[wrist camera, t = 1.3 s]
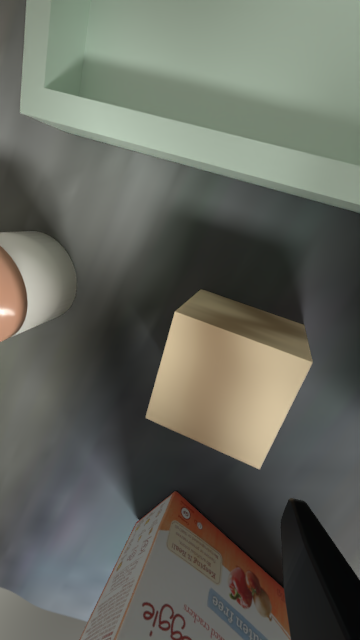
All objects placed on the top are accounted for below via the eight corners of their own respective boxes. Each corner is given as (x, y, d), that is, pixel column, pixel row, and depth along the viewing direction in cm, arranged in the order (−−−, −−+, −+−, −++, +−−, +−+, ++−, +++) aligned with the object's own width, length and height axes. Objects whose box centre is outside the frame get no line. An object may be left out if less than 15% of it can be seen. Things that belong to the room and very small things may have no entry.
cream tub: (83, 246, 19) (19, 255, 15) (70, 330, 22) (12, 361, 17) (5, 219, 20) (-77, 219, 16) (1, 301, 23) (-72, 322, 18)
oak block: (303, 324, 17) (312, 362, 12) (264, 410, 19) (259, 469, 14) (201, 288, 18) (174, 311, 13) (175, 373, 20) (145, 417, 16)
